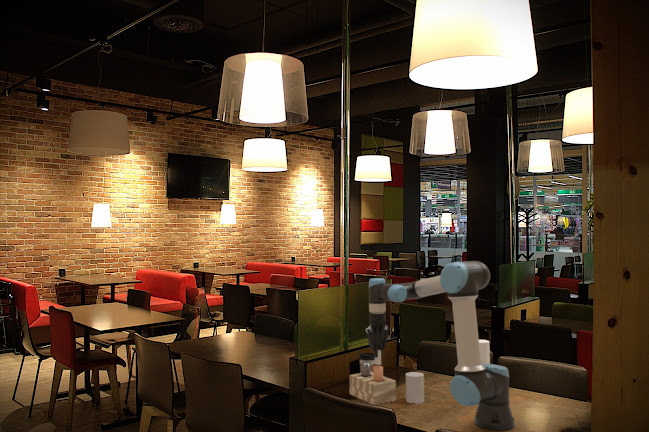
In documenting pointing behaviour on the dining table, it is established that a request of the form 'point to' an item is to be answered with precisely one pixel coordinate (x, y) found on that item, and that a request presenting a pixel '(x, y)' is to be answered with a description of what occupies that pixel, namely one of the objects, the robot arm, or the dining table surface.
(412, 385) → the cup
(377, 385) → the birch block
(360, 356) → the coffee cup
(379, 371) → the peg terracotta
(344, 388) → the dining table surface
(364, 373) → the peg steel
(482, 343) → the cylindrical container
